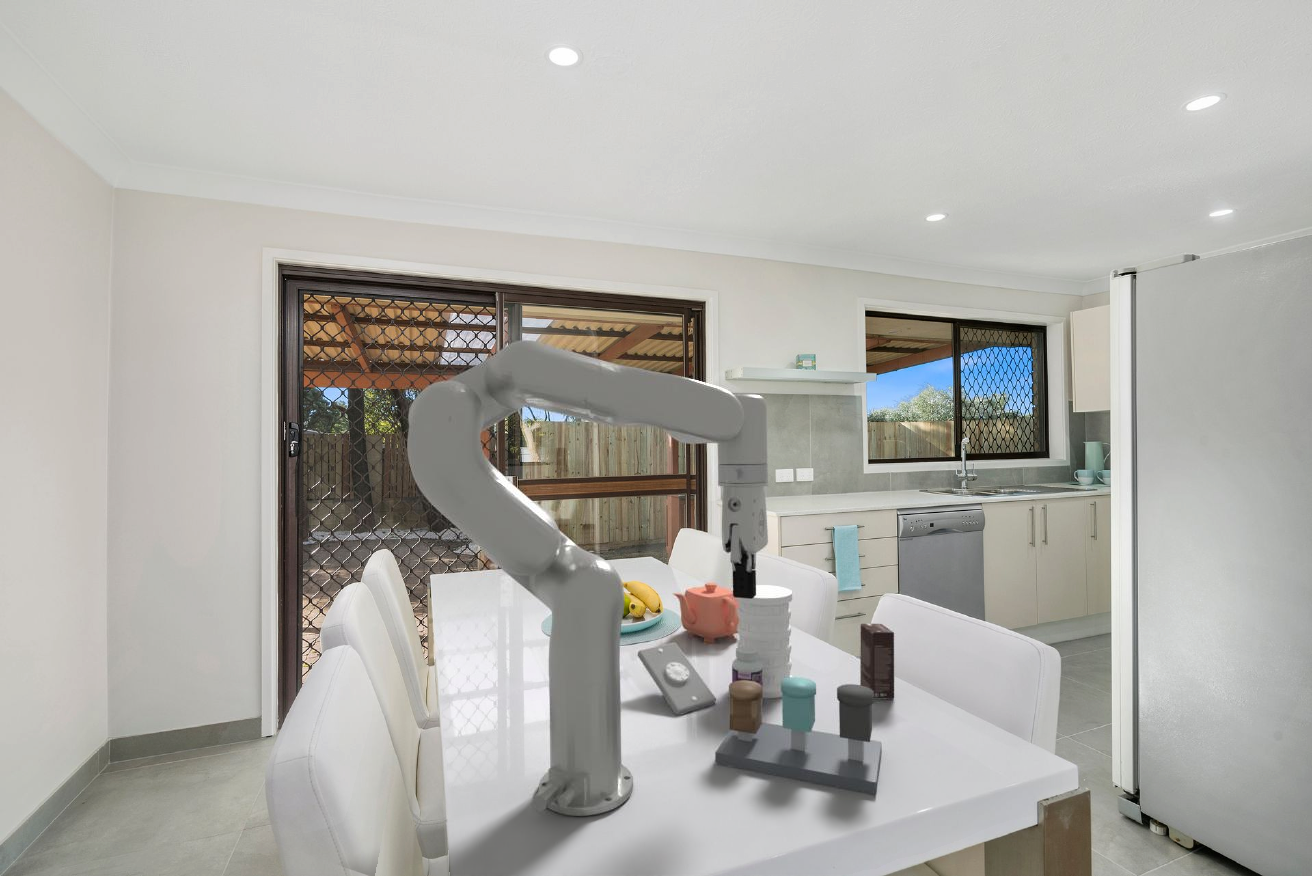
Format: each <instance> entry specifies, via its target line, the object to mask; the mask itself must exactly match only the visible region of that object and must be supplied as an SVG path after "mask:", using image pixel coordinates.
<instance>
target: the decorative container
mask: <svg viewBox="0 0 1312 876" xmlns="http://www.w3.org/2000/svg"><path fill="white" fill-rule="evenodd" d="M735 599H736V600H737V601H739V607H738V609H737V616H738V618H739V624H738V627H737V631H738V633H737V634H738V637H739V638H738V641H737V645H736V646H737V647H736V648H738V647H741V646H751V647H755V648H757V649H758V654H759V657H758V660H759V661H760V662H761V663H762V679H763V699H778V698H782V694H783V693H782V692H781V681H782V680H783V679H785V678H789V677H794V676H793V675H792V674H791V670H792V666H793V664H792V659H791V657H790V655H791V652H792V644H791V642H790V637H791V633H792V627H791V625H790V619H791V615H792V612H791V609H790V608H789V607H790V605H789V604H790V603H791V602H792V601H793V590H791V589H789V588H787V587H783V586H778V585H770V584H756V596H755V597H754V598H752V599H748V598H736V597H735Z"/></svg>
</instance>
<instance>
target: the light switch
mask: <svg viewBox="0 0 1312 876" xmlns="http://www.w3.org/2000/svg"><path fill="white" fill-rule="evenodd" d="M637 657H638V658H639V660H640V662H641V663H642V665H643V667H644V668H645V669H646V671H647V672H648V674H649V675H650V677H651V679H652V680H653V682H654V683H655V685H656V686H657V687H658V689H659V690H660V693H661V694H662V695H663V697H664V699H665V700H666V702H667V703H668V704H669V706H670V708H671V710H672V711H673V712H674V714H675V715H676V716H679V715H682V714H685V713H689V711H690V712H692V710H693V711H695V710H699V709H703V708H705V707H708V706H712V705H715V704H716V702H717V698H716V696H715V695H714V693H713V692H712V691H711V689H710V688H709V687H708V685H707V683H706V682H705V681H704V680H703V678H702V677H701V676H700V674H699V673H698V672H697V669H695V667H694V666H693V664H692V663H691V662H690V661H689V659H688V658H687V656H686V655H685V654H684V652H683V651H682V650H681V648H680V647H679V646H678V644H677V642H671V643H665V644H662V645H658V646H654V647H649V648H645V649H640V650H638V652H637Z"/></svg>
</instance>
